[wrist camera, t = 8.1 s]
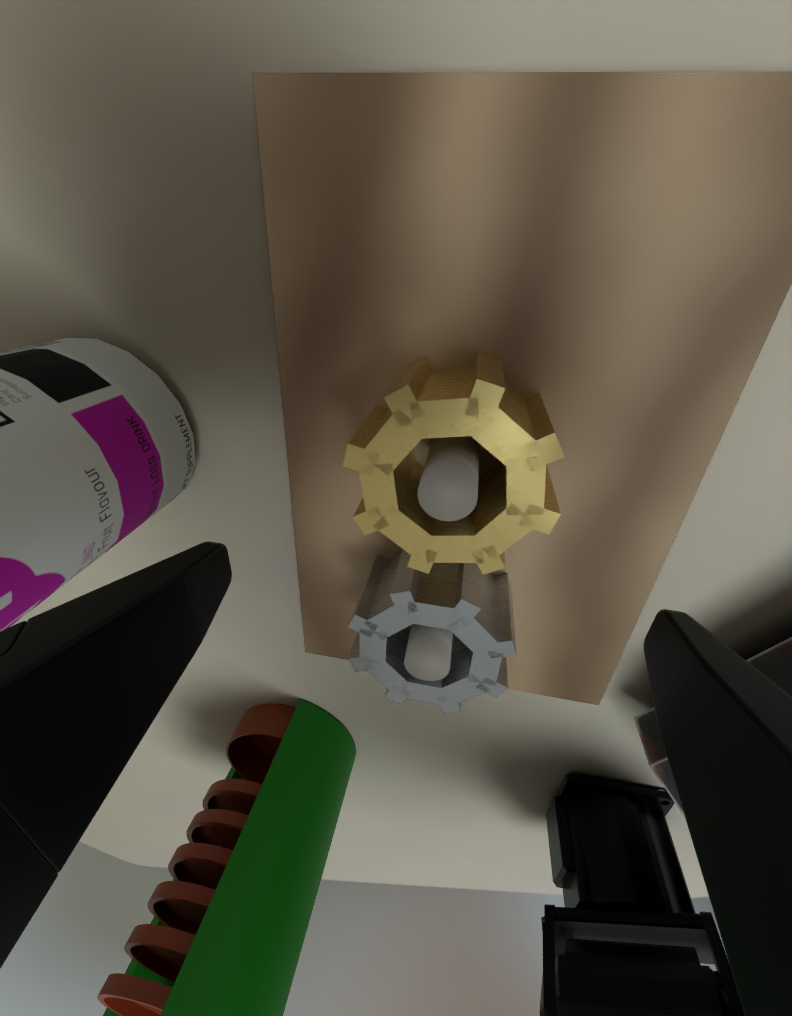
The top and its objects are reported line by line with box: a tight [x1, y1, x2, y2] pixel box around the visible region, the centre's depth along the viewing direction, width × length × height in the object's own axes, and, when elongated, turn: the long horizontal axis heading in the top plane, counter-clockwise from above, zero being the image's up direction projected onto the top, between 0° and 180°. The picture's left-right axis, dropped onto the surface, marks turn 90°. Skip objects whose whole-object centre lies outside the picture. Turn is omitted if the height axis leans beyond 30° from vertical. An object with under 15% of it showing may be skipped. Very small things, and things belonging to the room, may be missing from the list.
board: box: [252, 72, 792, 705], centre depth 16 cm, size 16×24×6 cm, turn 178°
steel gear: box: [348, 549, 517, 713], centre depth 19 cm, size 7×7×4 cm
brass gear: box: [343, 351, 565, 575], centre depth 15 cm, size 7×7×4 cm
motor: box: [98, 699, 356, 1016], centre depth 24 cm, size 10×9×20 cm
